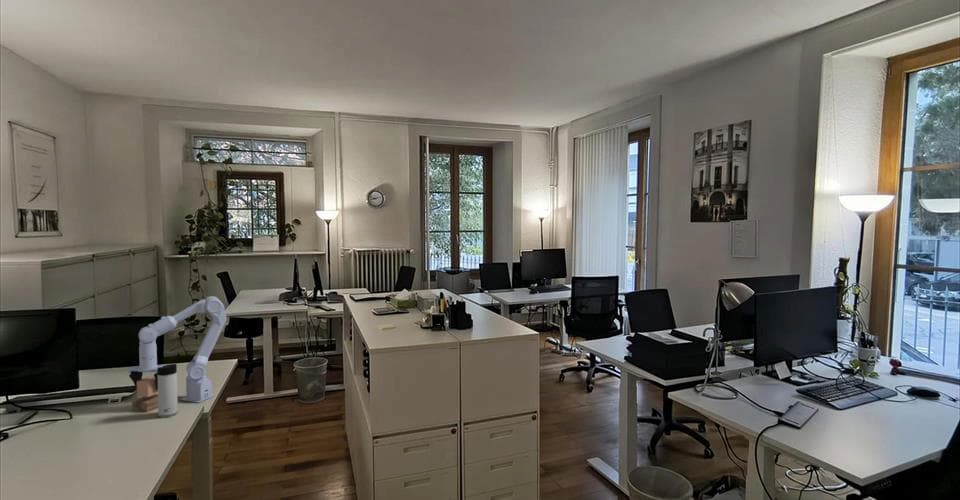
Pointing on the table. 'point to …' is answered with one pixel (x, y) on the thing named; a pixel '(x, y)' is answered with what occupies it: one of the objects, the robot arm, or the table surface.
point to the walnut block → (145, 403)
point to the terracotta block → (146, 387)
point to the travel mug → (167, 391)
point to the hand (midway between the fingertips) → (148, 389)
